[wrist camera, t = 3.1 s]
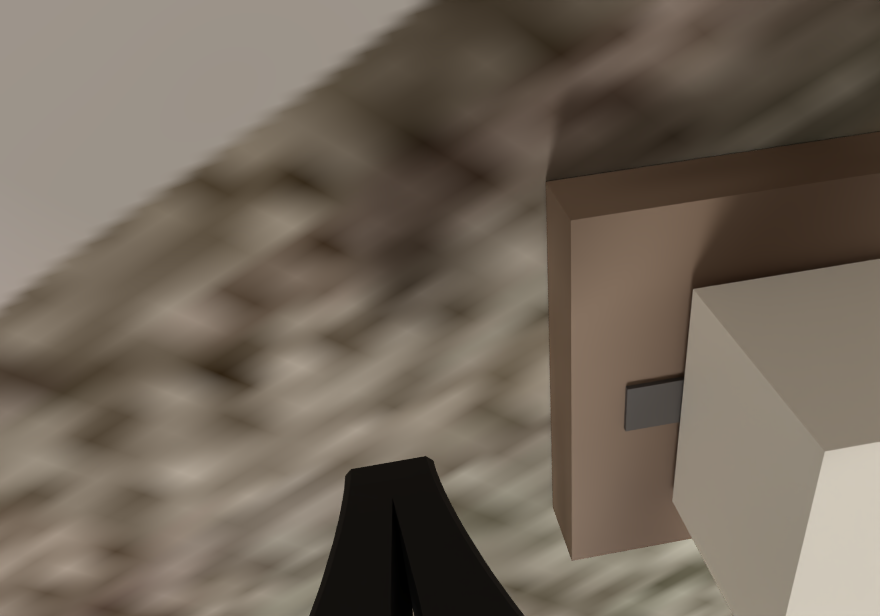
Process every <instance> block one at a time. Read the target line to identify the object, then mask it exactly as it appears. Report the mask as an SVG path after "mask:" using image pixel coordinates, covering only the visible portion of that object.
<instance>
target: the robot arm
mask: <svg viewBox="0 0 880 616" xmlns="http://www.w3.org/2000/svg"><path fill="white" fill-rule="evenodd" d="M412 608H413V609H412ZM413 612H414V616H524V615H523V613H522V612H521V611H520V609H519V608H518V607H517V605H516V604H515V603H514V601H513V600H512V599H511V597H510V596H509V595H508V593H507V592H506V591H505V589H504V588H503V586H502V585H501V584H500V582H499V581H498V579H497V578H496V577H495V575H494V574H493V572H492V571H491V569H490V568H489V566H488V565H487V563H486V562H485V560H484V559H483V557H482V556H481V554H480V553H479V551H478V549H477V548H476V546H475V545H474V543H473V541H472V540H471V538H470V537H469V535H468V533H467V532H466V530H465V528H464V527H463V525H462V523H461V521H460V520H459V518H458V516H457V514H456V512H455V510H454V508H453V507H452V505H451V503H450V501H449V499H448V497H447V495H446V493H445V491H444V488H443V486H442V484H441V482H440V479H439V476H438V474H437V471H436V468H435V465H434V461H433V460H431V459H430V458H428V457H426V456H424V457H419V458H413V459H407V460H401V461H396V462H390V463H384V464H378V465H373V466H367V467H361V468H355V469H351V470H350V471H349V472H348V473H347V474H346V476H345V487H344V494H343V501H342V506H341V511H340V516H339V521H338V525H337V529H336V533H335V537H334V541H333V545H332V548H331V551H330V555H329V558H328V561H327V565H326V568H325V572H324V575H323V578H322V582H321V585H320V588H319V591H318V593H317V596H316V599H315V602H314V604H313V607H312V610H311V613H310V615H309V616H413Z"/></svg>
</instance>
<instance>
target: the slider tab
mask: <svg viewBox="0 0 880 616" xmlns="http://www.w3.org/2000/svg"><path fill="white" fill-rule="evenodd" d="M672 502H673V503H674V505H675V507H676V509H677V511H678V513H679V515H680V517H681V518H682V520H683V522H684V524H685V526H686V528H687V530H688V532H689V533H690V535H691V537H692V539H693V541H694V543H695V545H696V547H697V548H698V550H699V552H700V554H701V556H702V558H703V560H704V562H705V563H706V565H707V567H708V569H709V571H710V573H711V575H712V577H713V578H714V580H715V582H716V584H717V586H718V588H719V590H720V592H721V593H722V595H723V597H724V599H725V601H726V603H727V605H728V607H729V609H730V610H731V612H732V614H733V616H880V259H875V260H869V261H863V262H857V263H851V264H844V265H838V266H832V267H826V268H820V269H814V270H807V271H801V272H795V273H789V274H783V275H777V276H770V277H764V278H758V279H752V280H746V281H740V282H733V283H727V284H721V285H715V286H709V287H703V288H697V289H693V295H692V305H691V316H690V326H689V336H688V346H687V356H686V367H685V377H684V387H683V397H682V408H681V418H680V428H679V438H678V448H677V459H676V469H675V479H674V489H673V499H672Z"/></svg>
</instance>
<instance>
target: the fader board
mask: <svg viewBox="0 0 880 616" xmlns="http://www.w3.org/2000/svg"><path fill="white" fill-rule="evenodd" d="M546 211H547V257H548V303H549V349H550V395H551V441H552V487H553V509H554V512H555V515H556V517H557V520H558V523H559V526H560V529H561V531H562V534H563V537H564V540H565V543H566V545H567V548H568V551H569V554H570V557H571V559H572V561H573V560H578V559H584V558H589V557H594V556H600V555H605V554H610V553H616V552H621V551H627V550H632V549H637V548H643V547H648V546H654V545H659V544H664V543H670V542H675V541H680V540H686V539H691V538H692V537H691V535H690V533H689V532H688V530H687V528H686V526H685V524H684V522H683V520H682V518H681V517H680V515H679V513H678V511H677V509H676V507H675V505H674V503H673V502H672V499H673V489H674V479H675V469H676V459H677V448H678V438H679V428H680V418H681V408H682V397H683V387H684V377H685V367H686V356H687V346H688V336H689V326H690V316H691V305H692V295H693V289H697V288H703V287H709V286H715V285H721V284H727V283H733V282H740V281H746V280H752V279H758V278H764V277H770V276H777V275H783V274H789V273H795V272H801V271H807V270H814V269H820V268H826V267H832V266H838V265H844V264H851V263H857V262H863V261H869V260H875V259H880V132H874V133H867V134H861V135H854V136H847V137H841V138H834V139H827V140H821V141H814V142H807V143H801V144H794V145H787V146H781V147H774V148H768V149H761V150H754V151H748V152H741V153H734V154H728V155H721V156H714V157H708V158H701V159H694V160H688V161H681V162H674V163H668V164H661V165H654V166H648V167H641V168H634V169H628V170H621V171H614V172H608V173H601V174H594V175H588V176H581V177H574V178H568V179H561V180H554V181H548V182H546Z"/></svg>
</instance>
